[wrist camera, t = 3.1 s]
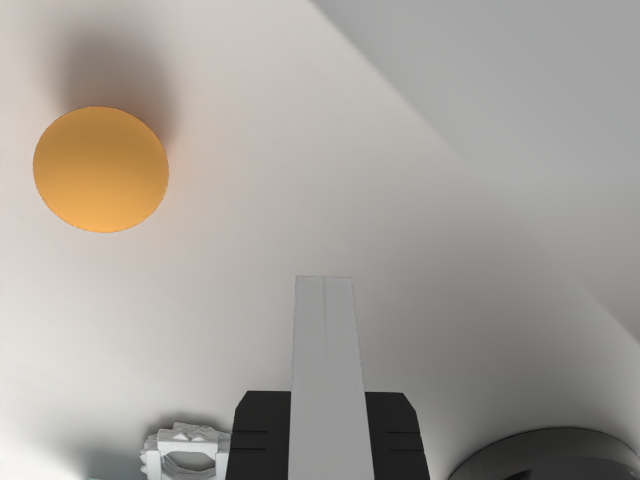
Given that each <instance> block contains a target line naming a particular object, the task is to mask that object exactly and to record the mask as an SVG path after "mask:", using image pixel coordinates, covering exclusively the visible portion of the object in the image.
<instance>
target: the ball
mask: <svg viewBox="0 0 640 480" xmlns="http://www.w3.org/2000/svg"><path fill="white" fill-rule="evenodd" d="M33 174H34V180H35V184H36V187H37V189H38V191H39V193H40V195H41V197H42V199H43V200H44V202H45V203H46V205H47V206H48V207H49V208H50V209H51V210H52V211H53V213H54V214H56V215H57V216H58V217H59V218H61V219H62V220H64V221H65V222H67V223H69V224H71V225H72V226H75V227H77V228H80V229H83V230H87V231H92V232H100V233H110V232H117V231H122V230H125V229H128V228H131V227H133V226H135V225H137V224H139V223H141V222H142V221H144V220H145V219H146V218H147V217H149V216H150V215H151V214H152V213H153V212H154V211H155V210H156V208H157V207H158V205H159V204H160V202H161V201H162V199H163V197H164V194H165V192H166V188H167V185H168V176H169V168H168V161H167V157H166V154H165V151H164V148H163V146H162V144H161V142H160V141H159V139H158V138H157V136H156V135H155V134H154V132H153V131H152V130H151V129H150V128H149V127H148V126H147V125H146V124H144V123H143V122H142V121H141V120H139V119H138V118H136V117H135V116H133V115H131V114H129V113H127V112H124V111H121V110H119V109H114V108H110V107H100V106H95V107H85V108H80V109H77V110H74V111H71V112H69V113H67V114H65V115H63V116H61V117H60V118H58V119H57V120H55V121H54V122H53V123H52V124H51V125H50V126H49V127H48V128H47V129H46V130H45V132H44V133H43V134H42V136H41V138H40V140H39V142H38V144H37V146H36V149H35V153H34V159H33Z"/></svg>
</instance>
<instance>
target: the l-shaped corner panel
mask: <svg viewBox="0 0 640 480" xmlns="http://www.w3.org/2000/svg"><path fill="white" fill-rule="evenodd" d="M230 438H231V434H229V433H225V432H220V431H216V430H214V429H213V428H212V427H208V426H206V425H204V426H201V427H199V425H198V424H195V425H190V424H185V423H181V422H175V423H174V425H173V428H172V429H170V430H169V429H159V431H158V433H156V434H152V435H150V436H148V440H146V441H145V443H144V448H143V450H141V451H140V452H141V453H142V454H140V456H139V457H140V459H142V462H143V463H144V464H145V465H143V466H142V467H141V469H140V470H141V471H142V472H144V473H145V474H147V479H148V480H225V476H226V469H227V463H228V456H229V452H230V443H231V441H229V440H230ZM172 451H183V452H203V453H205V454H206V455H207V456H209V457H210V458H212V459H213V460H214V461H215V467H214V468H210V469H206V470H202V471H193V470H189V469H184V468H179V467H178V466H177V465H176V464H175V463H174V462H173V461H172V460H171V459H170V458H169V457H168V456H167V455H166V454H168V453H170V452H172ZM89 480H102V479H97V478H92V477H89Z"/></svg>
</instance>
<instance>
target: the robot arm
mask: <svg viewBox="0 0 640 480" xmlns="http://www.w3.org/2000/svg"><path fill="white" fill-rule="evenodd" d="M225 480H430V476H429V471H428V466H427V462H426V457H425V454H424V448H423V443H422V438H421V437H420V429H419V424H418V420H417V415H416V411H415V410H414V408H413V407H412V405H411V404H410V402H409V401H408V399H407V398H406V397H405V395H404V394H403V393H395V392H364V384H363V375H362V366H361V357H360V349H359V340H358V331H357V322H356V314H355V305H354V296H353V287H352V279H351V278H350V277H317V276H296V290H295V315H294V340H293V366H292V391H291V392H290V391H247V392H246V394H245V395H244V397H243V399H242V400H241V402H240V403H239V405H238V406H237V408H236V410H235V417H234V423H233V430H232V436H231V443H230V452H229V456H228V463H227V469H226V476H225ZM449 480H640V461H639V459H638V458H637V456H636V455H635V453H634V452H633V451H632V450H631V449H630V448H629V447H628V446H627V445H626V444H624V443H623V442H621V441H619V440H618V439H616V438H614V437H611V436H609V435H606V434H603V433H599V432H595V431H590V430H584V429H571V428H561V429H547V430H540V431H534V432H529V433H525V434H520V435H517V436H514V437H511V438H508V439H505V440H502V441H500V442H497V443H495V444H493V445H491V446H489V447H487V448H485V449H483V450H481V451H480V452H478V453H476V454H475V455H473V456H472V457H471V458H469V459H468V460H467V461H465V462H464V463H463V464H462V465H461V466H460V467H459V468H458V469H457V470H456V471H455V472H454V473H453V475H452V476H451V478H450V479H449Z"/></svg>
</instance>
